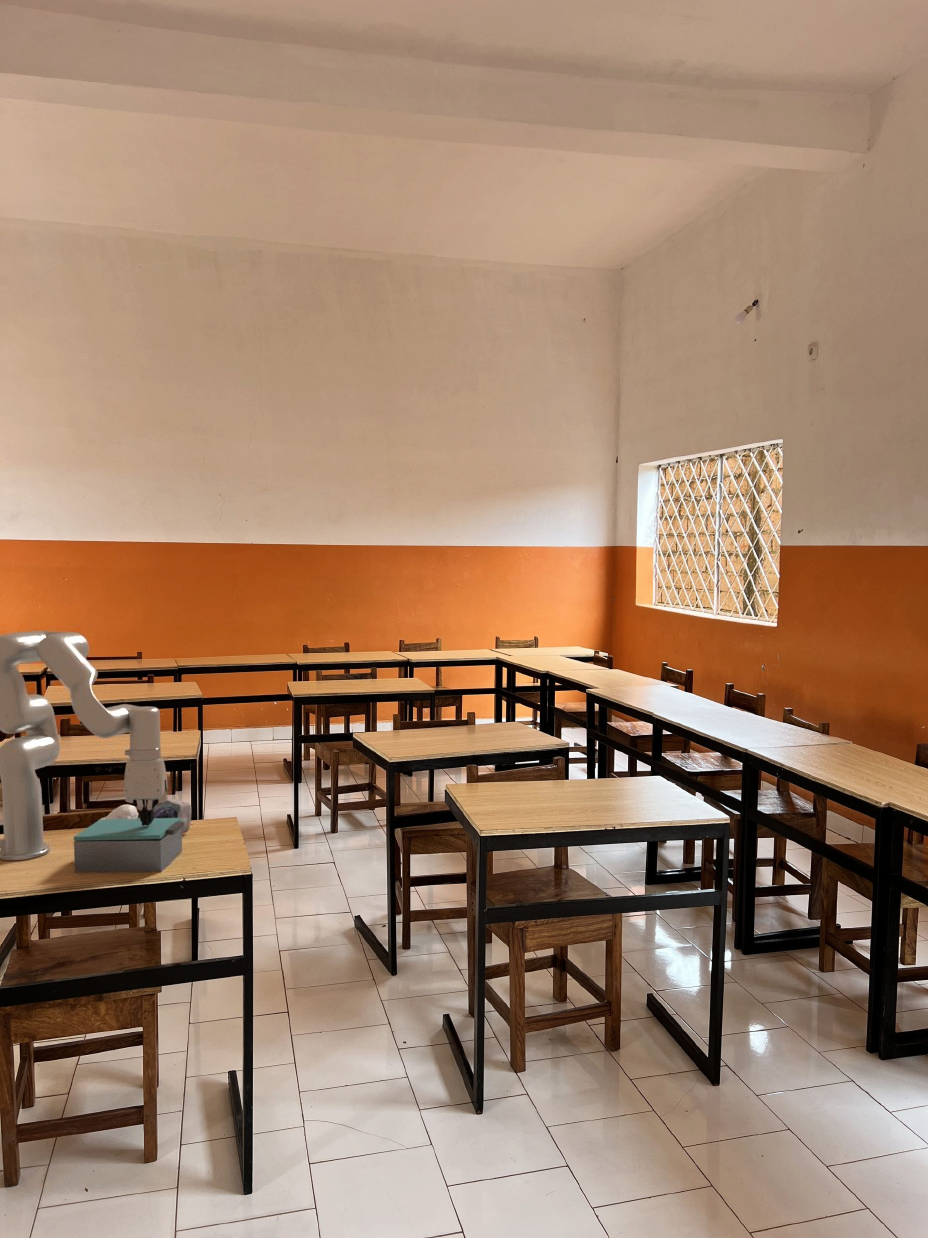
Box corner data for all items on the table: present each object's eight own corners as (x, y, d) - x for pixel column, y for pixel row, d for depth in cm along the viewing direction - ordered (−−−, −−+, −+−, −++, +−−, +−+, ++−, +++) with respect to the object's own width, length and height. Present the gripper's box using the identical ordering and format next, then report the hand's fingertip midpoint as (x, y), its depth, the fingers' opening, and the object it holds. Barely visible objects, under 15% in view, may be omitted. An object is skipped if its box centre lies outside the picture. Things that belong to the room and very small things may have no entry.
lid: (73, 841, 228) (73, 836, 228) (100, 823, 244) (100, 819, 244) (168, 839, 228) (168, 834, 228) (188, 821, 244) (188, 817, 244)
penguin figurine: (128, 807, 259) (89, 810, 260) (132, 836, 259) (93, 839, 260) (139, 801, 265) (100, 805, 266) (142, 830, 265) (104, 833, 267)
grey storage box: (74, 872, 229) (73, 841, 228) (101, 853, 245) (100, 824, 244) (161, 872, 228) (160, 840, 228) (182, 852, 244) (181, 823, 244)
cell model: (196, 796, 262) (145, 815, 244) (197, 833, 263) (147, 854, 245) (161, 792, 267) (109, 810, 249) (163, 828, 268) (111, 848, 250)
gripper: (111, 757, 231) (112, 828, 232) (169, 757, 231) (170, 828, 232) (122, 751, 239) (124, 820, 240) (178, 751, 238) (180, 820, 239)
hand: (147, 824), depth 236 cm, fingers closed
